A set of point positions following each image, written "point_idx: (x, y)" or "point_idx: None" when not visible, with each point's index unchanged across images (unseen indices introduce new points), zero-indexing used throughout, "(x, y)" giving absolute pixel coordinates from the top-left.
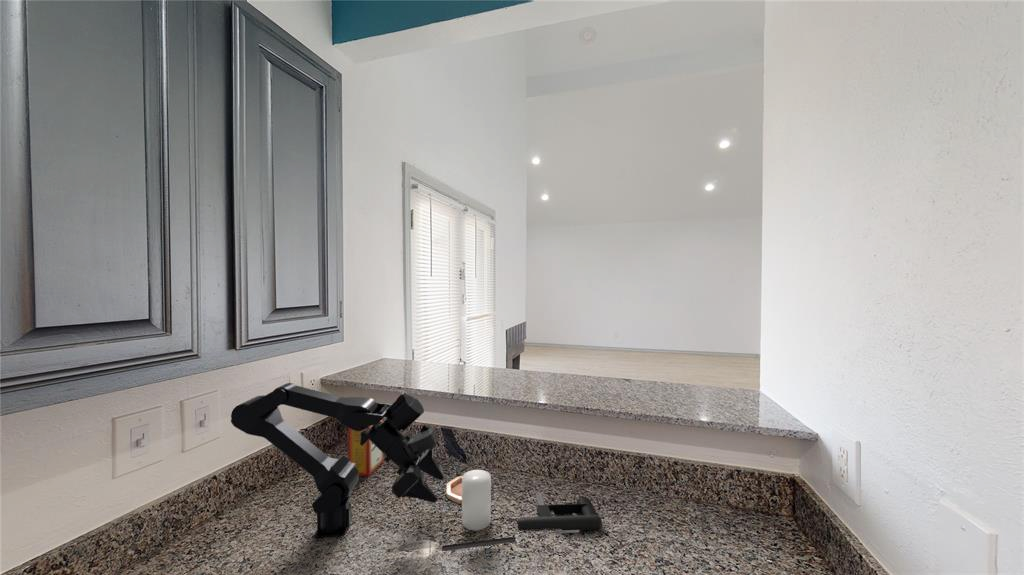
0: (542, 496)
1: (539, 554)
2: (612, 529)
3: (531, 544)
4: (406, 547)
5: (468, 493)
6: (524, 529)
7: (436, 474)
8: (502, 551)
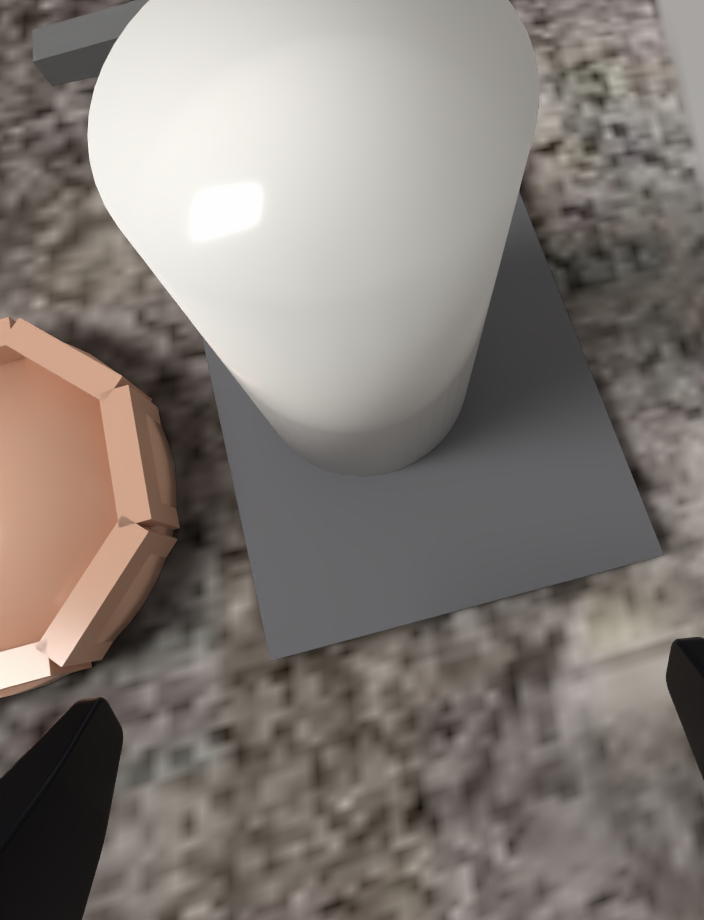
0: (90, 14)
1: (570, 15)
2: None
3: None
4: (672, 854)
5: (503, 247)
6: None
7: (72, 842)
8: (582, 191)
